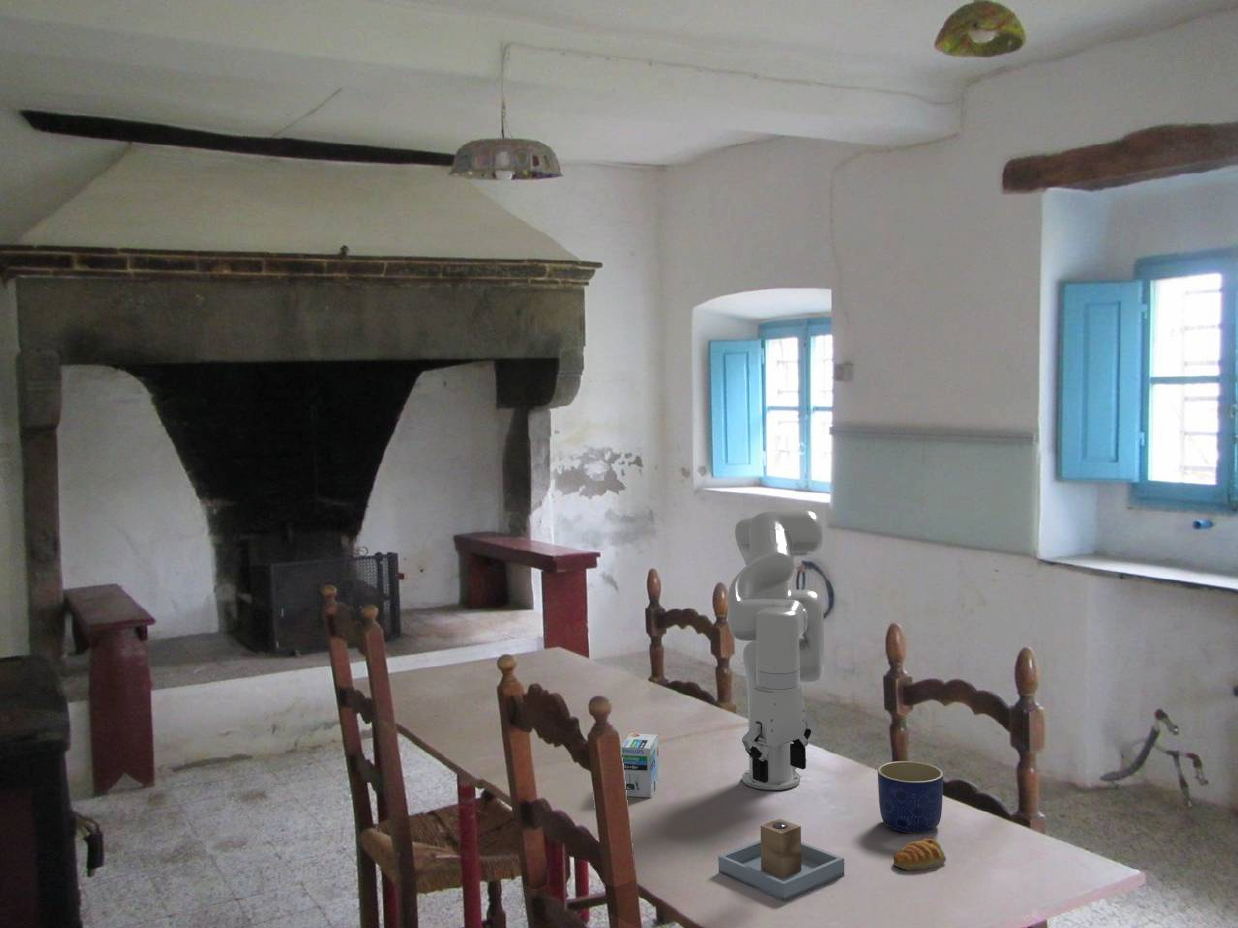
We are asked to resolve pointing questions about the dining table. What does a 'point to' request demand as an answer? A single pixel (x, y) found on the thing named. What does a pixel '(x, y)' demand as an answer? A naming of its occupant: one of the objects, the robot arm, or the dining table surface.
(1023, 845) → the dining table surface
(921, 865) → the pastry
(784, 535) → the robot arm
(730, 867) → the tray
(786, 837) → the walnut block
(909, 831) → the planter
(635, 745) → the light bulb box
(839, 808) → the dining table surface
